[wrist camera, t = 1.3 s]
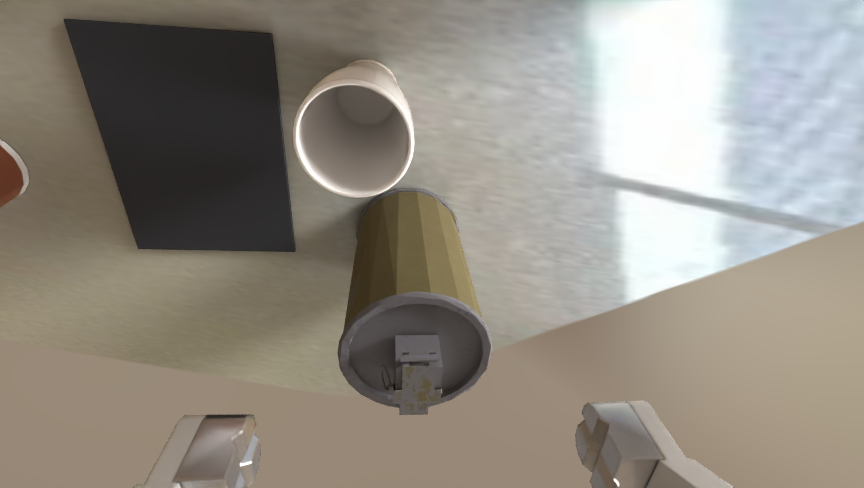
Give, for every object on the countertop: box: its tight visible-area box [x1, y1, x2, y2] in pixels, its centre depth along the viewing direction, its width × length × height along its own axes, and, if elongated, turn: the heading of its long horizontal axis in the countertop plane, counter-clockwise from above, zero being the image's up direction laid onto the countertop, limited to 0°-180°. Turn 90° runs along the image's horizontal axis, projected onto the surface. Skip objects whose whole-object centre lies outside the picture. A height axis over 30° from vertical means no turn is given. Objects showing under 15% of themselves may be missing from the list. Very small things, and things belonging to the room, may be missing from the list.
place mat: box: [64, 19, 295, 252], centre depth 37 cm, size 20×15×1 cm
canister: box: [338, 188, 492, 415], centre depth 34 cm, size 11×10×20 cm
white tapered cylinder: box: [293, 59, 414, 198], centre depth 29 cm, size 7×7×15 cm
